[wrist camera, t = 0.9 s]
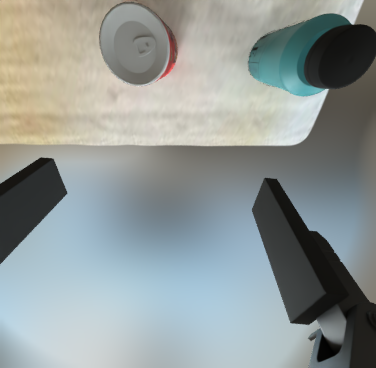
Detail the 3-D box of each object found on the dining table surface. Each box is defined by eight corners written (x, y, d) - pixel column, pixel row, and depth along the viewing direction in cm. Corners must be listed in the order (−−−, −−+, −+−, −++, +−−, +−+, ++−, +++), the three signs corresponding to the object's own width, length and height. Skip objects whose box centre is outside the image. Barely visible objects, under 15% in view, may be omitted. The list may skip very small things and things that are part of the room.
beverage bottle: (272, 86, 31) (354, 118, 15) (237, 74, 30) (282, 95, 14) (295, 40, 28) (436, 15, 11) (255, 25, 27) (345, -24, 10)
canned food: (187, 58, 30) (182, 59, 21) (150, 88, 32) (131, 100, 23) (158, 4, 26) (137, -23, 17) (119, 42, 29) (83, 36, 20)
